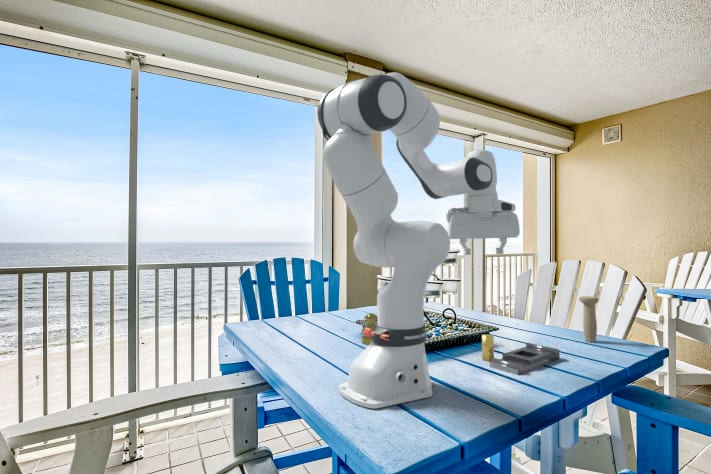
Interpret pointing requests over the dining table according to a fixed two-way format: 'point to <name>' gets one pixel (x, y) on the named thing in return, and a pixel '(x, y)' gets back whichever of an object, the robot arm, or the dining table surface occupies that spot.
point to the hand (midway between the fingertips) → (483, 254)
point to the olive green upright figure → (371, 325)
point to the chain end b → (532, 354)
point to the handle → (589, 317)
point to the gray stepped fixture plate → (514, 365)
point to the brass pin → (487, 347)
